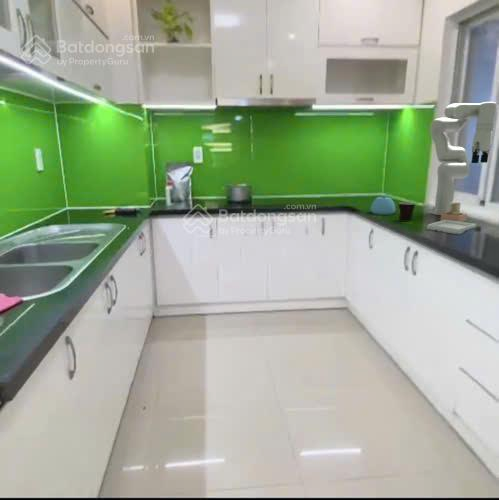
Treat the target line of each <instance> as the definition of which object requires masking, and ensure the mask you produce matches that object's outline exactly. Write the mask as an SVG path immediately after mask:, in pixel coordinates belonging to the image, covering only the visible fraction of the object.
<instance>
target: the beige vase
mask: <svg viewBox="0 0 499 500" xmlns="http://www.w3.org/2000/svg"><path fill="white" fill-rule="evenodd" d="M460 210H461V202H454V201H453V202H451V203H450V210H449V214H450V215H457V216H459V213H461V212H460Z"/></svg>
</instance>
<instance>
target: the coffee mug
mask: <svg viewBox="0 0 499 500" xmlns="http://www.w3.org/2000/svg"><path fill="white" fill-rule="evenodd" d="M415 205H416V204H415V203H414V202H407V201H406V202H404V201H402V202H398V220H399V222H405V223H406V222H407V223H408V222H409V221H411V220H412V219H413V218H412V217H413V214H414V210H415V207H416V206H415Z"/></svg>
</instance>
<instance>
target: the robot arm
mask: <svg viewBox="0 0 499 500" xmlns="http://www.w3.org/2000/svg"><path fill="white" fill-rule="evenodd" d="M496 110H497V103H496V102H494V101H485V102H481V103H468V102H467V103H466V102H463V103H451V104H450V105H448V106H446V107H445V109H444V111H443V112H444V116H445V117H439V118H436V119H434V120H432V121H431V123H430V127H429V132H430V133H429V134H430V137H431V139H432V141H433V144H434V147H435V153H436V157H437V161H438V162H439V163H441V164H439V165H438V167H437V170H436V171H437V184H436V185H437V186H436V195H435V202H434V206H429V207H428V210H429V211H431V214H433V215H436V216H437V215H439V216H441V214H442V213H446V212H449V210H450V203H451V202H454V196H455V187H456V186H455V183H454V181H453V180H454V179H459V180H461V179H466V178H468V177H469V175H470V173H471V167H470V163H471V164H478V163H479V161H480V163H485V164H486V163H488V161H489V155H490V149H491V142H492V132H493V130H494V124H495V118H496ZM471 119H472V120H474V119H476V124H475V133H474V136H473V141H472V144H471V145H472V146H471V155H472V156H471V162H470V163H469V159H468V154H467V151H466V149H465V148H464V147H462V146H452V143H451V140H450V138H449V137H448V136H447V135H446V133H458V132H460V131H461V130H462V129H463V128H464V127H465V125H466V124H467V123H468V121H469V120H471ZM480 153H481V156H480Z"/></svg>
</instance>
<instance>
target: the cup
mask: <svg viewBox="0 0 499 500" xmlns="http://www.w3.org/2000/svg"><path fill="white" fill-rule="evenodd" d="M467 215H468V214H467V213H463V212H459V216H457V215H450V214H449V212H446V213H442V214H441V215H440V221H443V220H452V221H459V222H466V221H467Z"/></svg>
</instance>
